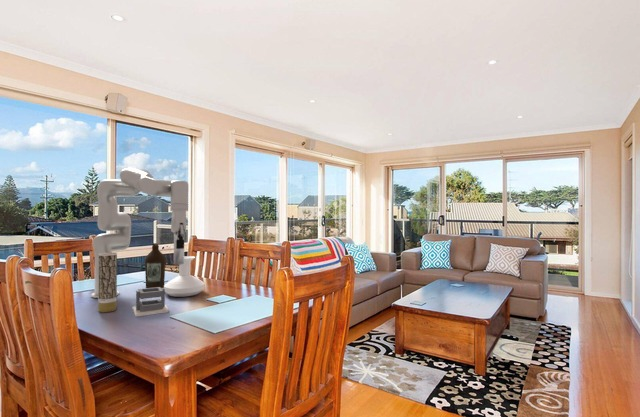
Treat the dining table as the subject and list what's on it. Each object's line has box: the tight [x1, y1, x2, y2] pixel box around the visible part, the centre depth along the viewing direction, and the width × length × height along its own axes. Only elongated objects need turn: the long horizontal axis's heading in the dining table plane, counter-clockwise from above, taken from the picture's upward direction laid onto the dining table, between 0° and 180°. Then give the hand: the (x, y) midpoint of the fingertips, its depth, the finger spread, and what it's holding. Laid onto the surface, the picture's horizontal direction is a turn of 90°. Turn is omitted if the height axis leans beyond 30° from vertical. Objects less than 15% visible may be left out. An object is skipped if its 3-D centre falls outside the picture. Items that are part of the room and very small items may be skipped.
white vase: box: [164, 255, 206, 298], centre depth 186 cm, size 20×20×19 cm
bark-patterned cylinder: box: [97, 252, 118, 313], centre depth 156 cm, size 7×7×25 cm
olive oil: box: [144, 242, 167, 288], centre depth 201 cm, size 11×11×25 cm
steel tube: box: [173, 231, 185, 266], centre depth 162 cm, size 4×4×17 cm
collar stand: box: [132, 287, 170, 317], centre depth 157 cm, size 13×13×9 cm
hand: (178, 247), depth 162 cm, fingers closed on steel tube, 4 cm apart
